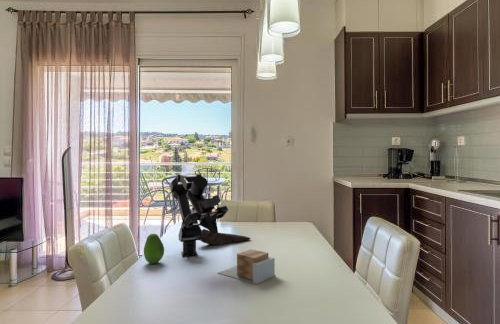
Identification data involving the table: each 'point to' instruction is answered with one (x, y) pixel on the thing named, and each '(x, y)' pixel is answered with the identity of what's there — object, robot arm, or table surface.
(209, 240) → the stone
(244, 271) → the walnut block
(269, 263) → the gray angle bracket
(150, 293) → the table surface
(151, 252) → the fruit
